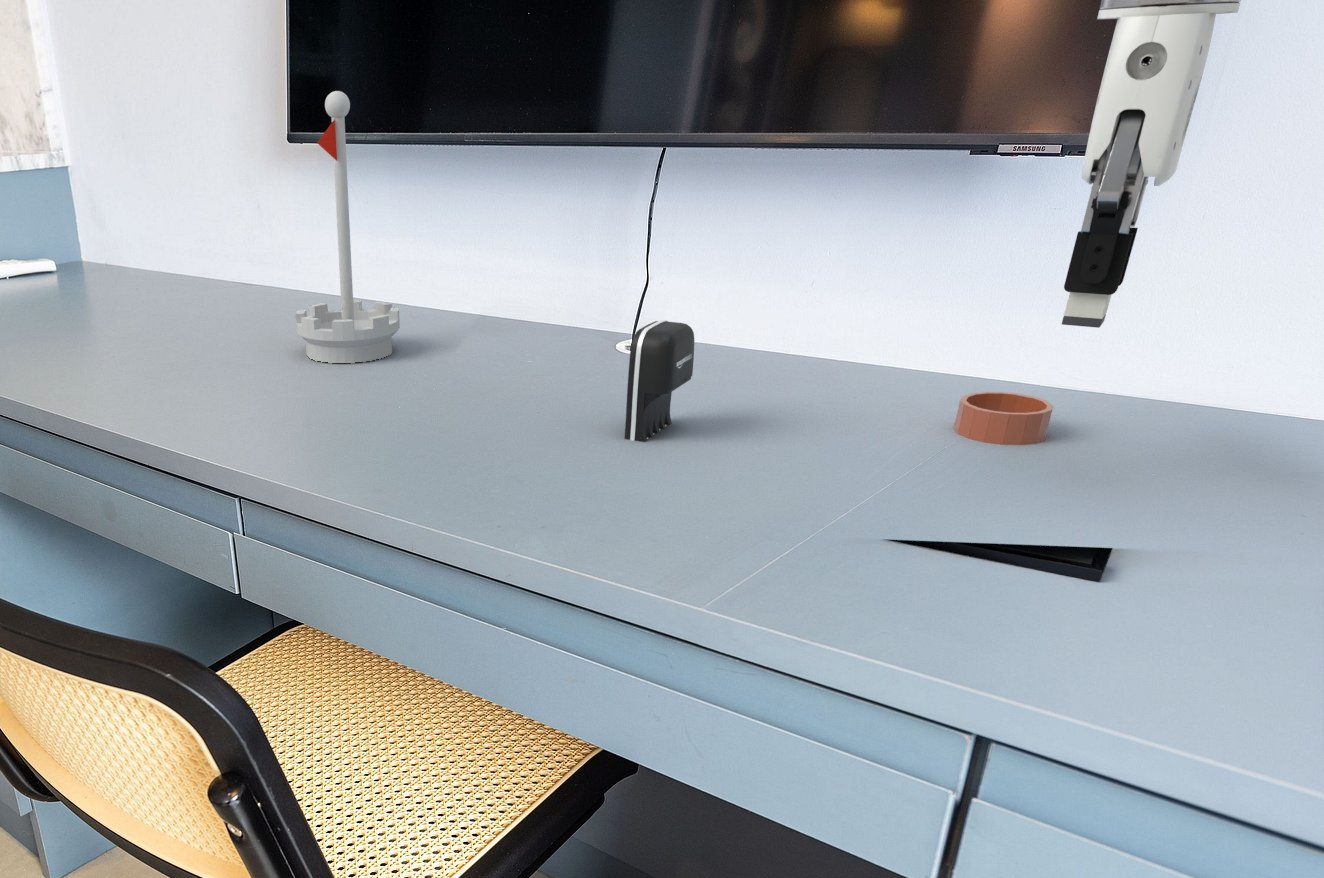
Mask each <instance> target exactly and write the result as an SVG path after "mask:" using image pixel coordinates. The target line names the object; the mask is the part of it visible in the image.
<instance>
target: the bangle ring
mask: <svg viewBox="0 0 1324 878" xmlns="http://www.w3.org/2000/svg"><path fill="white" fill-rule="evenodd" d="M1053 411H1054V405H1053V404H1052V403H1051V402H1050V401H1048V400H1046V399H1043V398H1040V397H1037V396H1034V395H1028V394H1023V393H1017V392H1016V393H1015V392H1006V391H979V392H971V393H967V394H965V395H962V396H961V398H960V399H959V403H958V407H957V411H956V417H955V420H954V425H953V431H955V432H956V434H957V435H959V436H962V437H964V438H966V439H969V440H973V441H977V442H981V443H986V444H994V445H1005V446H1025V445H1035V444H1038V443H1041V442H1043V441H1045V439H1046V437H1047V434H1048V431H1049V425H1050V422H1051V418H1052V414H1053Z"/></svg>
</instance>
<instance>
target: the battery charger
mask: <svg viewBox="0 0 1324 878" xmlns="http://www.w3.org/2000/svg"><path fill="white" fill-rule="evenodd" d="M694 358H695V333H694V330H693V328H692V327H691V326H690V325H689V324H687V323H685V322H677V321H669V320H667V319H666V320H665V319H660V320H655V321H652V322H651V323H648V324H646V325H645V326H642V327H640V328H639V329H638V330H637V331H636V332H635V334H634V335H633V337H632V340H631V346H630V350H629V361H628V362H629V363H628V374H627V389H626V390H627V391H626V405H625V406H626V408H625V425H624V426H625V427H624V440H627V441H632V442H641V443H646V442H648V439H649V438H653V437H654V436H655V434H660V432H661V430H665V429H667V427H666V426H670V425H671V424H672V418H671V404H672V403H671V401H672V393H673V392H674V391H676V390H677V389H679V388H680V387H681V386H683V385H684V384H686V383H687V382H689V381H690V380H691V379H692V377H693V374H694V372H693V371H694Z"/></svg>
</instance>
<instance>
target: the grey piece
mask: <svg viewBox="0 0 1324 878" xmlns="http://www.w3.org/2000/svg"><path fill="white" fill-rule="evenodd" d="M1124 211H1125V209H1124ZM1129 230H1130V229H1129ZM1128 233H1129V232H1128ZM1068 293H1069V294H1068V297H1067V302H1066V305H1065V310H1064V313H1063V317H1062V321H1061V325H1064V326H1073V327H1074V326H1076V327H1085V328H1086V327H1087V328H1098V329H1099V328H1101V327H1102V325H1103V324H1104V322H1105V319H1106V316H1107V313H1108V309H1109V305H1110V302H1111V299H1112V298H1111V297H1112V295H1113V294H1111V295H1104V294H1090V293H1076V292H1068Z"/></svg>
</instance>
